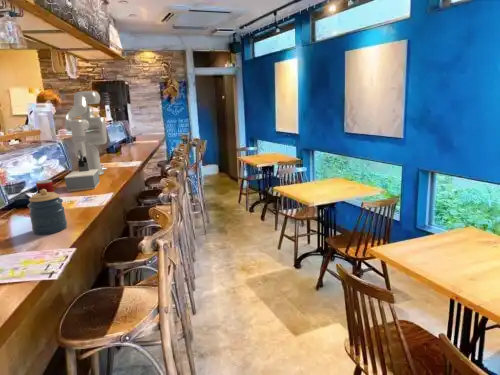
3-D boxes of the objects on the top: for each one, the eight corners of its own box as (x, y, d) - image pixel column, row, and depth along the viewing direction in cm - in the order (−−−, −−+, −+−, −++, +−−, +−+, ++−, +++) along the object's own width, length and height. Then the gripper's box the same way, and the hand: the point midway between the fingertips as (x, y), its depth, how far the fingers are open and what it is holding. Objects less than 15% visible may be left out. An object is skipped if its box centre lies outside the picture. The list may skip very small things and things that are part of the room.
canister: (59, 222, 164) (52, 184, 160) (73, 227, 156) (66, 187, 152) (27, 231, 155) (19, 190, 150) (40, 237, 147) (32, 194, 142)
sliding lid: (72, 172, 242) (70, 163, 241) (98, 170, 245) (96, 161, 244) (64, 178, 223) (63, 169, 222) (92, 175, 226) (91, 166, 225)
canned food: (58, 198, 210) (54, 179, 207) (49, 202, 202) (45, 182, 199) (45, 198, 210) (42, 179, 208) (36, 202, 203) (32, 182, 200)
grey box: (74, 184, 244) (72, 172, 242) (99, 182, 247) (98, 170, 245) (67, 191, 225) (64, 178, 223) (95, 188, 228) (93, 176, 226)
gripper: (75, 138, 244) (79, 164, 247) (69, 140, 227) (74, 168, 231) (87, 138, 245) (91, 163, 249) (82, 139, 229) (87, 167, 232)
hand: (83, 165), depth 240 cm, fingers open, 9 cm apart
